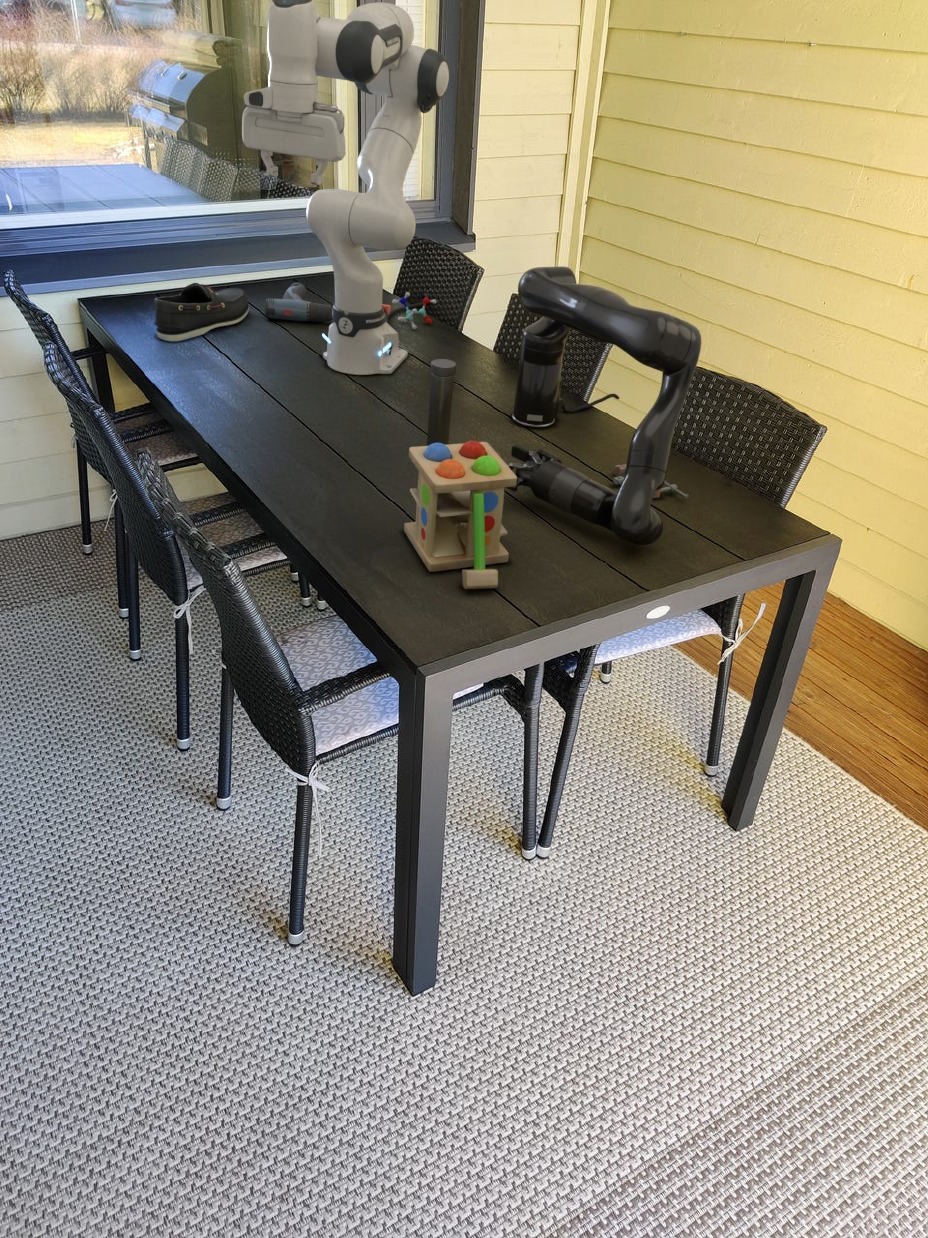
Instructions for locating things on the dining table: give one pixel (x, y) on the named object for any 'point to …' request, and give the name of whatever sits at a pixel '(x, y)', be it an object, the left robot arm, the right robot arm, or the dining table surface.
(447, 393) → the dark grey cylindrical bottle
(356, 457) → the dining table surface
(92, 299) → the dining table surface
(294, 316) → the power drill
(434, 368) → the lid
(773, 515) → the dining table surface
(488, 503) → the pounding bench toy
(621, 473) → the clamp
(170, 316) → the boat shoe
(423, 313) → the molecular model
